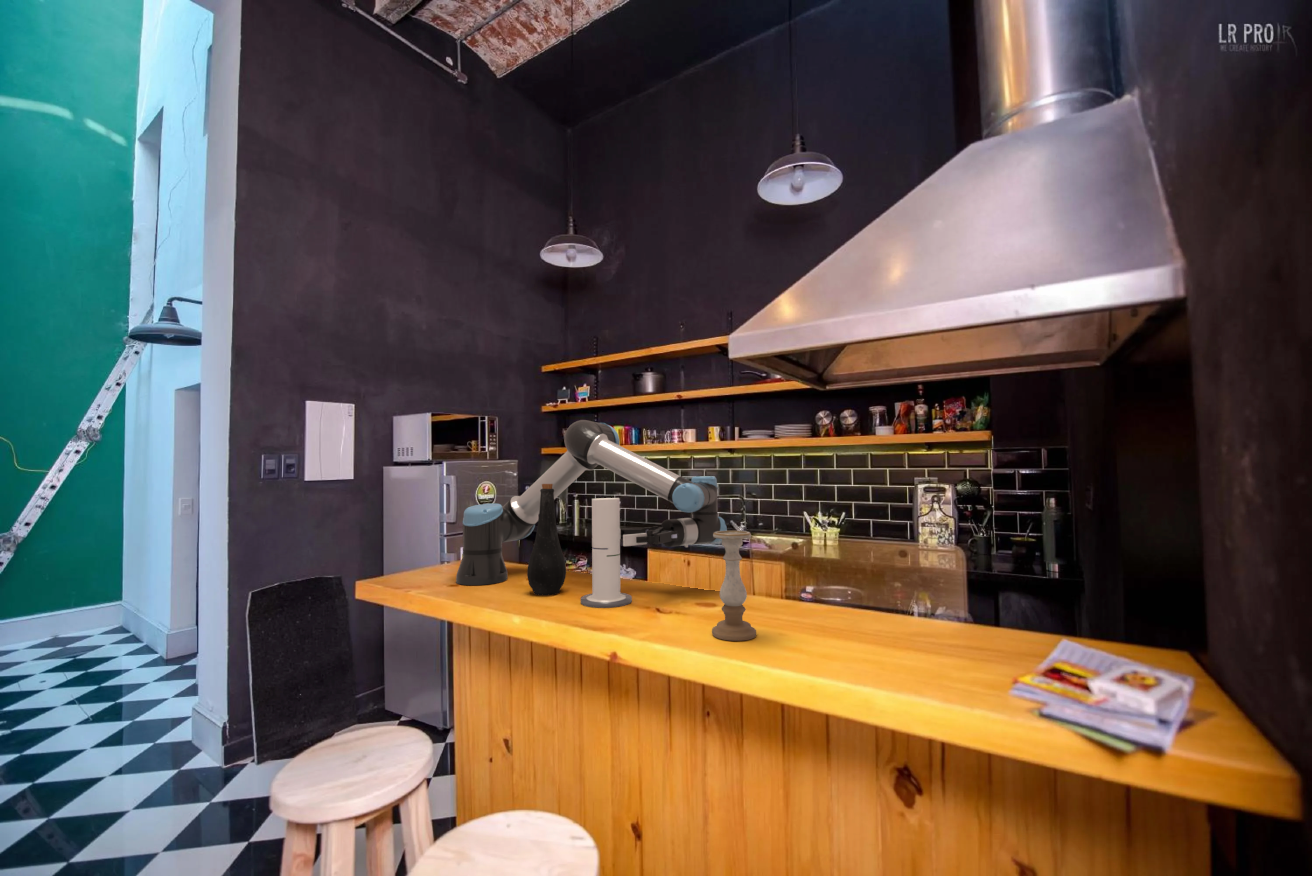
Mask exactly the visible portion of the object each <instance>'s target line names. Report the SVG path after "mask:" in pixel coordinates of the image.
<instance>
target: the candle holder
mask: <svg viewBox="0 0 1312 876" xmlns="http://www.w3.org/2000/svg"><path fill="white" fill-rule="evenodd" d="M713 537H714V538H718V539H722V540H721V546H723V547H724V551H725V553H724V555H723V558H722V560H724V561H725V575H724V579H723V582H722V584H721V586H720V589H719V597H720V600H721V602H722V604H723V605H722V606H721V611H722V612H723V615H724V619H723V620H720V621H718V622H717V623H716V625H715V626H713V627H712V629H711V634H712V636H713V637H714V638H716V639H719V640H724V641H731V642H734V641H735V642H742V641H743V642H744V641H749V640H752V639H753V640H754V638H756V636H757V629H756V628H755V627H753V626H752V625H751V623H749V622H748V621H746V620H743V615H744V613H745V612H746V610H747V608H746V607H745V606H744V605H743V604H744V603H745V602H746V600H747V597H748V596H747V595H748V594H747V593H748V592H747V590H746V586H745V585H744V583H743V579H742V577H741V571H740V568H741V567H740V562H741V560H742V559H743V557H742V556H741V554H740V548H741V547H742V546H743V544H744V543H743V540H744V539H745V540H747V539H750V538H751V537H752V534H751V532H750V531H746V530H727V531H717V532H714V533H713Z"/></svg>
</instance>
